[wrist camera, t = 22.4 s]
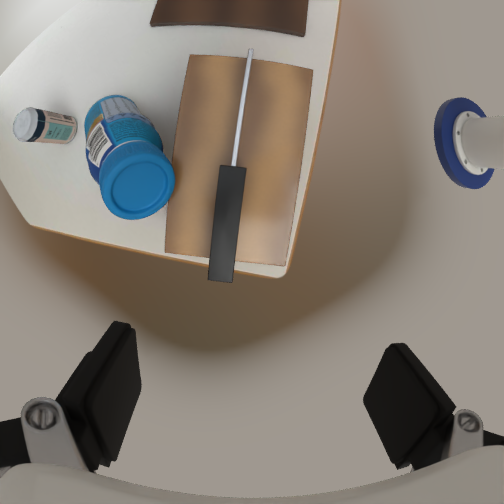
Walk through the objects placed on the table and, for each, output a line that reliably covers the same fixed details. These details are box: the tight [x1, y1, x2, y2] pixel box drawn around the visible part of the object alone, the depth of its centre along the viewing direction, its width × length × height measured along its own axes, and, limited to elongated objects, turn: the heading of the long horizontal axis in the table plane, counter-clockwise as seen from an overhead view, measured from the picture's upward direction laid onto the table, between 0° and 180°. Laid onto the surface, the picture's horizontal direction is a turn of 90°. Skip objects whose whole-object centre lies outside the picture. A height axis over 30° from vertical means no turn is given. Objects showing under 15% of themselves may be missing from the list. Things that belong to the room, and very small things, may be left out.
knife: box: [208, 49, 253, 283], centre depth 23 cm, size 21×2×3 cm, turn 172°
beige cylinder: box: [13, 107, 77, 144], centre depth 29 cm, size 5×5×12 cm
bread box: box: [165, 55, 313, 266], centre depth 31 cm, size 12×20×14 cm, turn 172°
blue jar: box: [84, 95, 175, 220], centre depth 27 cm, size 8×8×20 cm
